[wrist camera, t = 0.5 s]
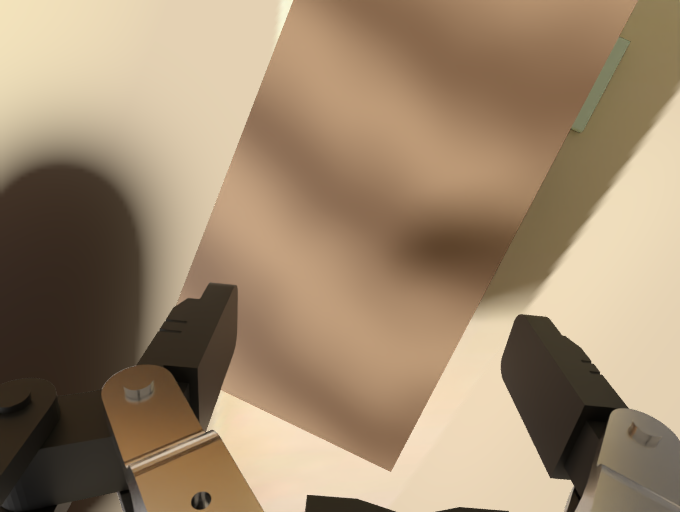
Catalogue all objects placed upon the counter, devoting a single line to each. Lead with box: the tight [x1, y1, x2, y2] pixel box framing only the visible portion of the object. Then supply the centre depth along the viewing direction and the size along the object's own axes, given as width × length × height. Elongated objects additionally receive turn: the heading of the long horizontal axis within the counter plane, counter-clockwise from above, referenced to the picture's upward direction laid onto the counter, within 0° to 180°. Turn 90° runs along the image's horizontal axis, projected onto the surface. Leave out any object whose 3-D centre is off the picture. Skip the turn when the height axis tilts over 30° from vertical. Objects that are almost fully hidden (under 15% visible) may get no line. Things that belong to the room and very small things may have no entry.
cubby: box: [176, 0, 638, 472], centre depth 27 cm, size 20×11×20 cm, turn 156°
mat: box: [571, 37, 631, 133], centre depth 33 cm, size 7×7×1 cm
